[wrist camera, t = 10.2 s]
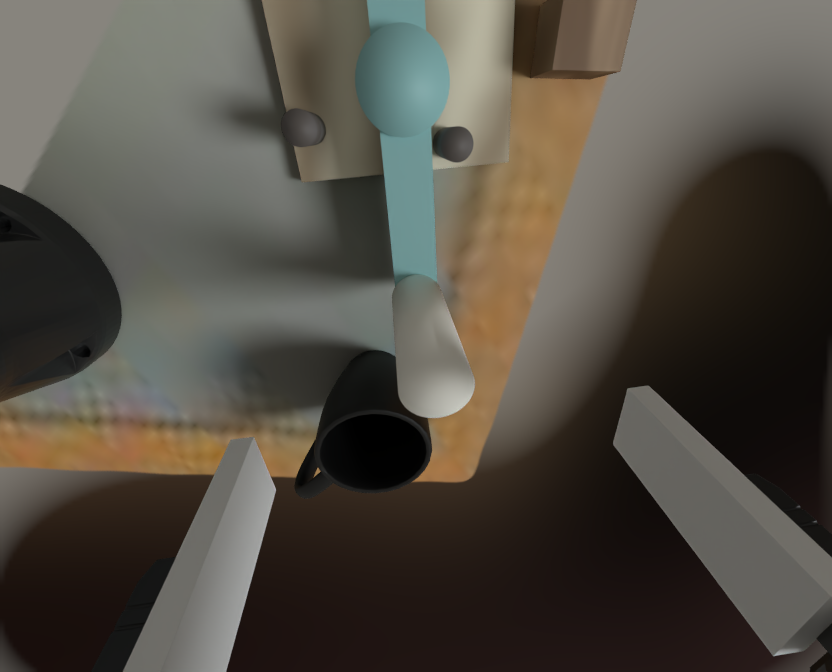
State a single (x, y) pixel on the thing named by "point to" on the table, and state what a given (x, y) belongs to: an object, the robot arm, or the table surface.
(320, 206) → the table surface
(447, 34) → the press base
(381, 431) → the mug
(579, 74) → the walnut block
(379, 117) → the lever
